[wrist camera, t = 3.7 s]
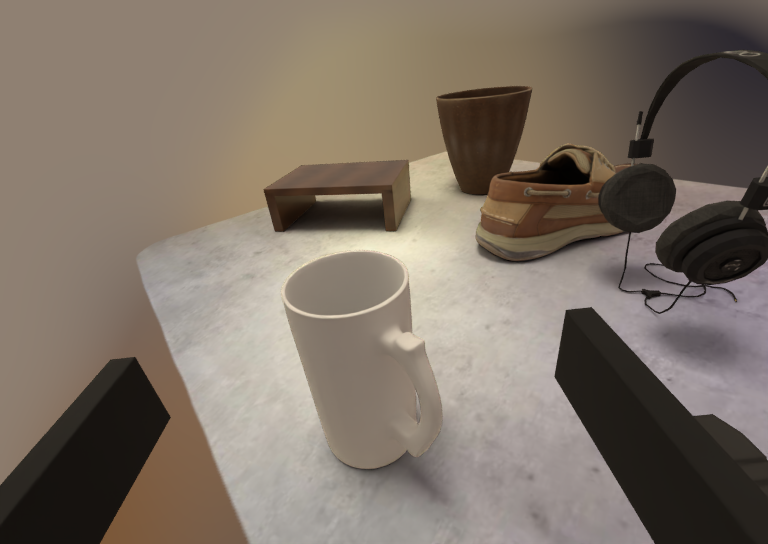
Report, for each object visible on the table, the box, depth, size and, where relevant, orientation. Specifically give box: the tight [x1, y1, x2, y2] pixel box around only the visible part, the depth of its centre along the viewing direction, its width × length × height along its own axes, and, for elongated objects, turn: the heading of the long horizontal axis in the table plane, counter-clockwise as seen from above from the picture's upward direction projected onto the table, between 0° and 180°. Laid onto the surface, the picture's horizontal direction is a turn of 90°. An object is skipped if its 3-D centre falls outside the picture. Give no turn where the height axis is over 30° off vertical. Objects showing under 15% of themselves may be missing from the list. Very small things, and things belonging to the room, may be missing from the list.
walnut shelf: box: [264, 160, 411, 231], centre depth 60 cm, size 20×14×7 cm
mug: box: [281, 250, 442, 469], centre depth 21 cm, size 10×7×12 cm, turn 38°
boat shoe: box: [476, 144, 637, 261], centre depth 46 cm, size 11×29×10 cm, turn 120°
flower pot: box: [436, 86, 532, 195], centre depth 63 cm, size 15×15×16 cm
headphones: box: [598, 50, 768, 314], centre depth 29 cm, size 15×11×20 cm
